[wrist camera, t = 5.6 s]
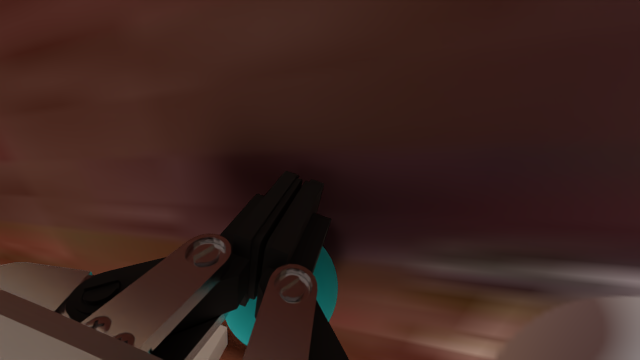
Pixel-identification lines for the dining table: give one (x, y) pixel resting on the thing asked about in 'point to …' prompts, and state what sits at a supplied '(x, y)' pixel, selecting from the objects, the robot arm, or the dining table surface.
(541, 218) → the dining table surface
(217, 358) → the bridge
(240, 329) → the ball
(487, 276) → the dining table surface
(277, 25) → the dining table surface
